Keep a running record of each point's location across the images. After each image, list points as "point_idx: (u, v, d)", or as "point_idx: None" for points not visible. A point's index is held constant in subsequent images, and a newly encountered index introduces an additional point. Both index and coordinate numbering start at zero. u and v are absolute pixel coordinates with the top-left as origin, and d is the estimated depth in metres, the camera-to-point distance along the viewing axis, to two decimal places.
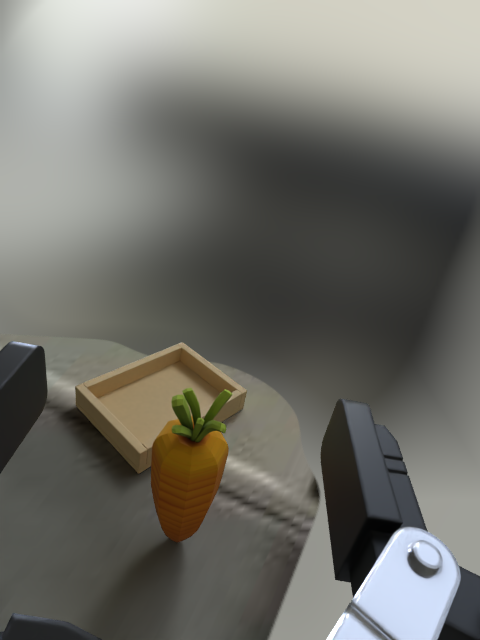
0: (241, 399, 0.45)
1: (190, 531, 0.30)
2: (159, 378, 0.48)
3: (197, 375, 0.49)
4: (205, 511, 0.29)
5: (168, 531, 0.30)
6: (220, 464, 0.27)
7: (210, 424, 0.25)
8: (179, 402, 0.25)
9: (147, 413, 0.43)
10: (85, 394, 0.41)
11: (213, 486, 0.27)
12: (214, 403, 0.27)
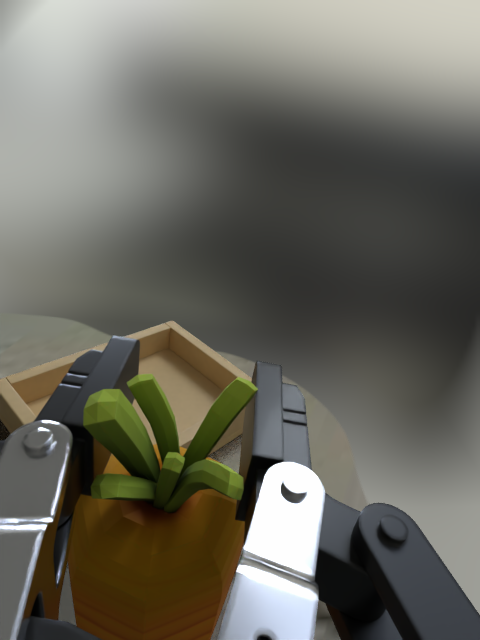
0: None
1: None
2: None
3: (193, 369, 0.33)
4: None
5: None
6: (229, 568, 0.11)
7: (200, 471, 0.09)
8: (104, 411, 0.08)
9: None
10: (5, 396, 0.25)
11: (212, 621, 0.11)
12: (211, 413, 0.10)
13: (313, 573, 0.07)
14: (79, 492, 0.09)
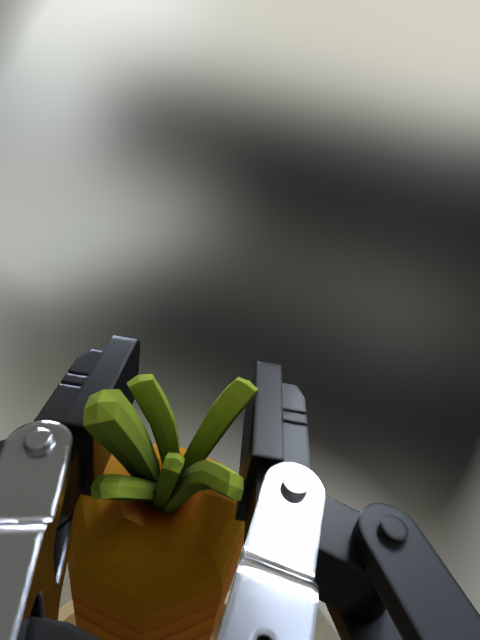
0: None
1: None
2: None
3: None
4: None
5: None
6: (228, 569, 0.11)
7: (200, 471, 0.09)
8: (104, 412, 0.08)
9: None
10: None
11: (212, 621, 0.11)
12: (211, 413, 0.10)
13: (314, 573, 0.07)
14: (79, 492, 0.09)
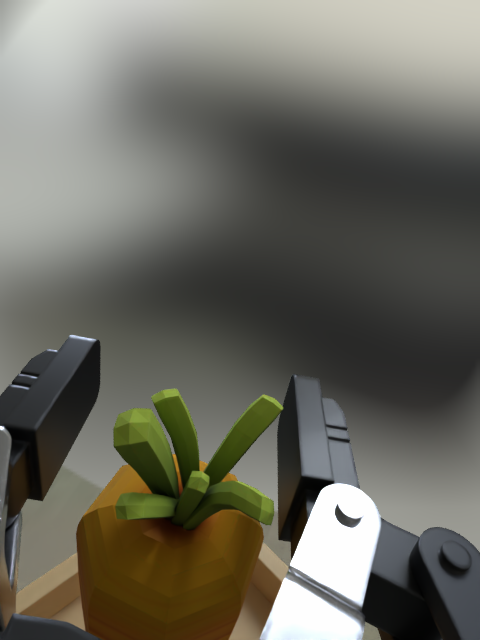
0: None
1: None
2: None
3: None
4: None
5: None
6: (247, 587, 0.11)
7: (228, 493, 0.09)
8: (136, 433, 0.08)
9: None
10: None
11: (227, 638, 0.11)
12: (235, 431, 0.10)
13: (362, 603, 0.07)
14: (25, 497, 0.09)
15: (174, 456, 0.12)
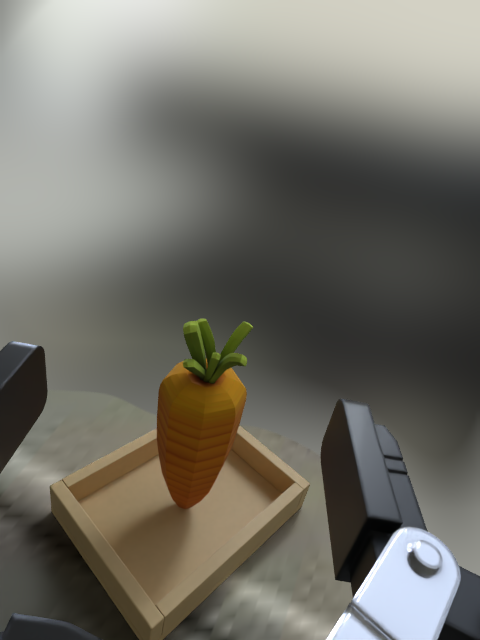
0: (301, 497, 0.30)
1: (201, 493, 0.26)
2: None
3: (231, 451, 0.34)
4: (219, 467, 0.25)
5: (175, 493, 0.26)
6: (238, 409, 0.23)
7: (228, 357, 0.22)
8: (192, 328, 0.21)
9: (161, 525, 0.28)
10: (65, 502, 0.26)
11: (229, 435, 0.24)
12: (231, 337, 0.23)
13: None
14: None
15: None
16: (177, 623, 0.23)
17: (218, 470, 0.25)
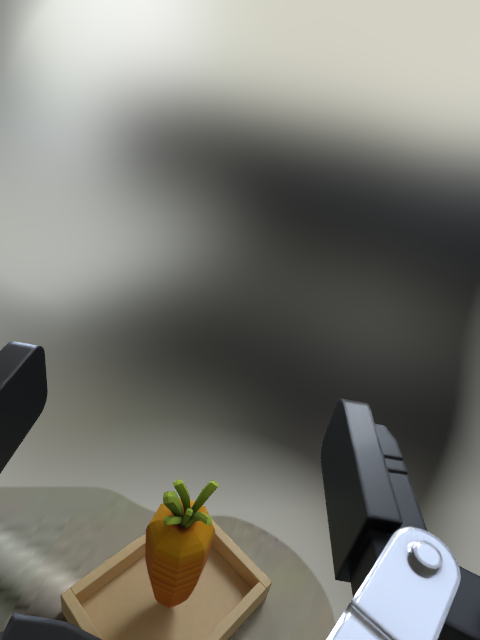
0: (265, 592, 0.37)
1: (180, 601, 0.33)
2: None
3: None
4: (194, 586, 0.32)
5: (160, 601, 0.33)
6: (207, 547, 0.30)
7: (198, 516, 0.29)
8: (170, 499, 0.28)
9: (150, 622, 0.35)
10: (72, 610, 0.33)
11: (201, 566, 0.30)
12: (202, 493, 0.30)
13: None
14: None
15: (181, 499, 0.32)
16: None
17: (193, 587, 0.32)
